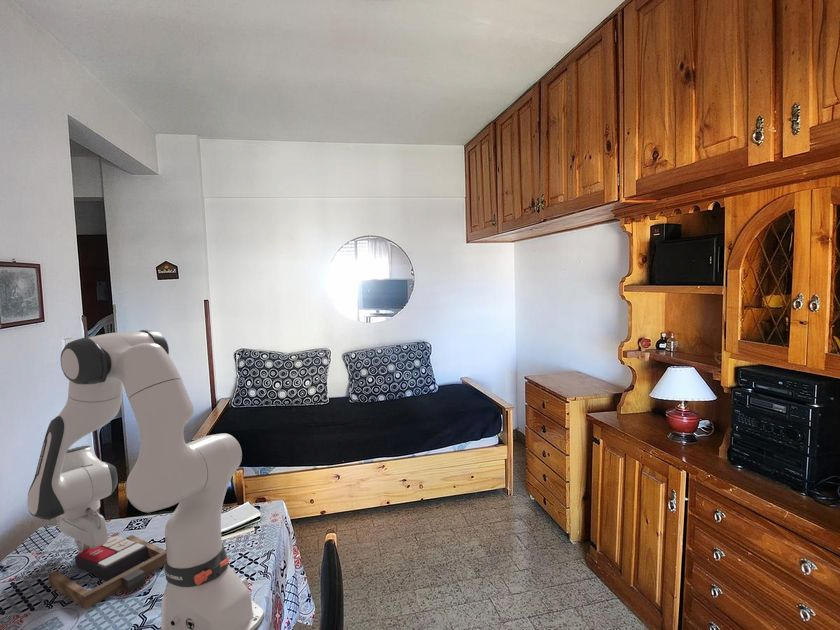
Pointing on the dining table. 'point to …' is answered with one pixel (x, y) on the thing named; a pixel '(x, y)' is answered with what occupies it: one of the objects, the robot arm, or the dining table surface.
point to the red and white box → (111, 558)
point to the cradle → (122, 581)
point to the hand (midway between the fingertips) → (84, 553)
